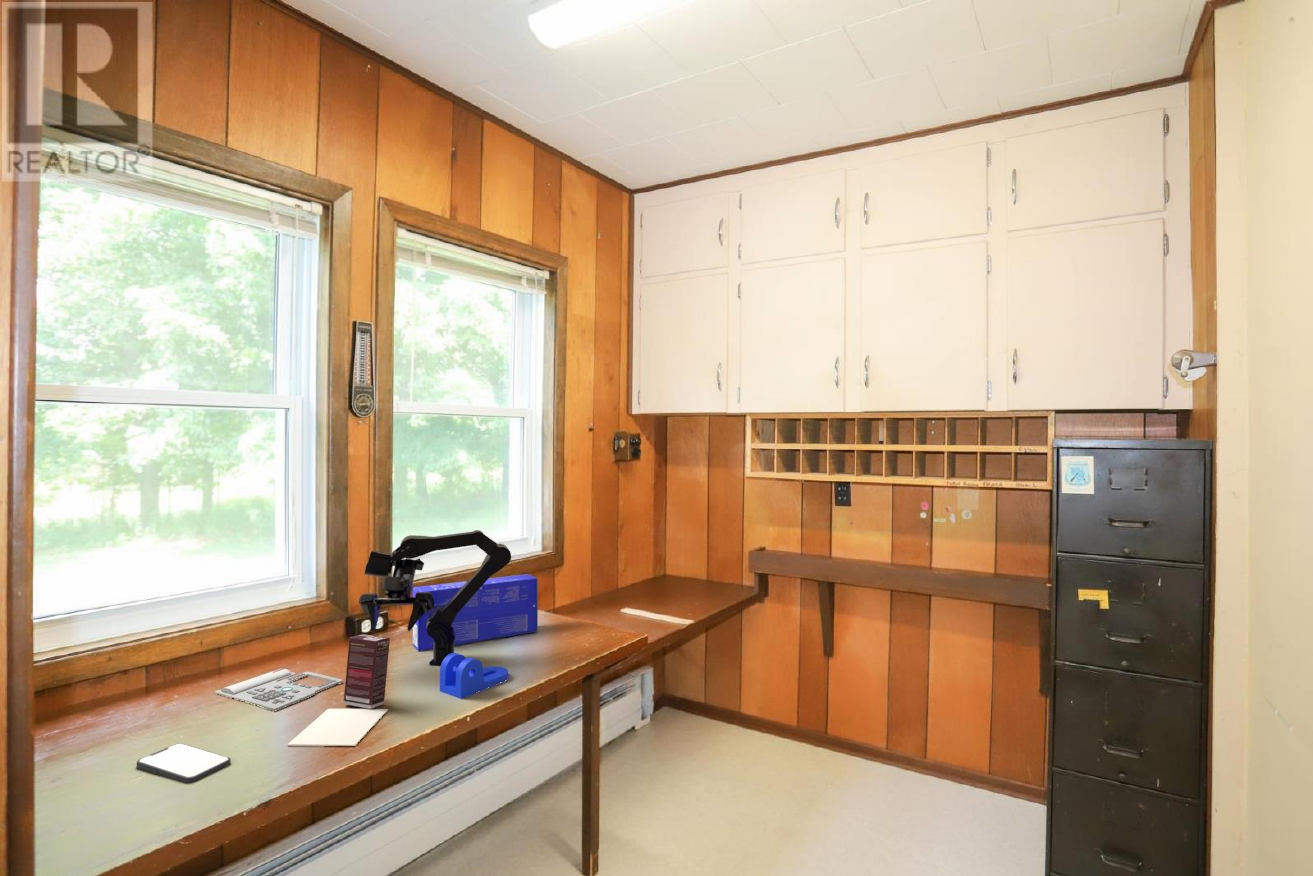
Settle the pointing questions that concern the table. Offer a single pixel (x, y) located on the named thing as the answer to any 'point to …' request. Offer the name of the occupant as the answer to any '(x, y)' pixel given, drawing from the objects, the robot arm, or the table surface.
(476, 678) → the bracket
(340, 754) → the table surface
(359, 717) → the mat
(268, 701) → the office telephone
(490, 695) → the table surface
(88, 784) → the table surface
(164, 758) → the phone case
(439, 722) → the table surface
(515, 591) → the toner cartridge box
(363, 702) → the supplement box
